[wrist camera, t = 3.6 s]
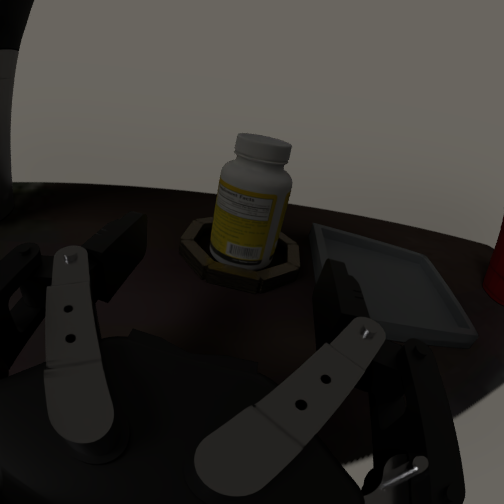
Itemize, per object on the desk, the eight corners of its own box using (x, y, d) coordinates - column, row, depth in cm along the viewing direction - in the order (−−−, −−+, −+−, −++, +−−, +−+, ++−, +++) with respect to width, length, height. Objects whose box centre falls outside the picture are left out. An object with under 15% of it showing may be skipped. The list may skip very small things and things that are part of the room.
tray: (321, 328, 18) (329, 311, 17) (308, 235, 30) (313, 222, 29) (468, 348, 18) (479, 335, 17) (420, 266, 30) (425, 255, 29)
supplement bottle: (244, 234, 27) (267, 133, 22) (284, 263, 24) (317, 151, 19) (196, 244, 24) (213, 128, 19) (234, 280, 21) (264, 146, 16)
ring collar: (165, 271, 20) (166, 257, 19) (200, 219, 28) (202, 208, 27) (296, 302, 20) (301, 289, 19) (294, 241, 28) (297, 230, 27)
